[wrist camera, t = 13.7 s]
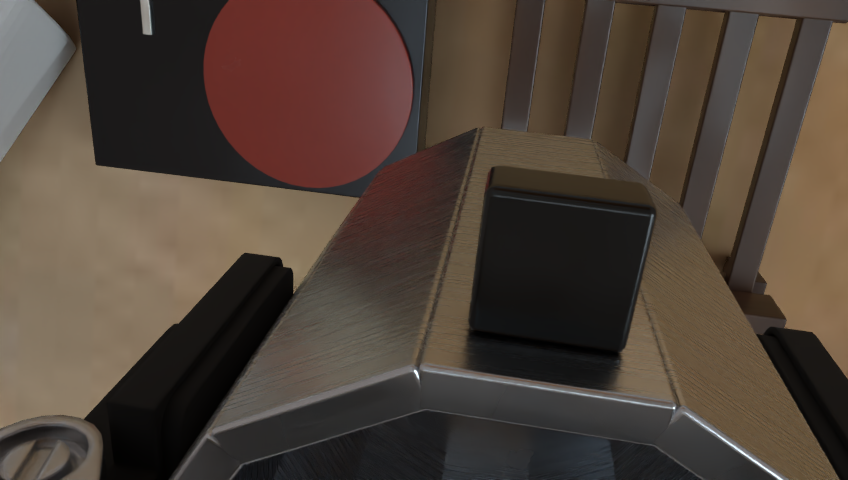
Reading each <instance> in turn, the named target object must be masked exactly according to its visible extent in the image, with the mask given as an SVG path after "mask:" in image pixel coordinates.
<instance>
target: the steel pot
mask: <svg viewBox="0 0 848 480" xmlns="http://www.w3.org/2000/svg"><path fill="white" fill-rule="evenodd" d="M168 480H840V479H839V477H838V475H837V474H836V472H835V470H834V468H833V467H832V465H831V463H830V462H829V460H828V458H827V456H826V455H825V453H824V451H823V449H822V448H821V446H820V444H819V443H818V441H817V439H816V437H815V436H814V434H813V432H812V430H811V429H810V427H809V425H808V424H807V422H806V420H805V418H804V417H803V415H802V413H801V411H800V410H799V408H798V406H797V405H796V403H795V401H794V399H793V398H792V396H791V394H790V392H789V391H788V389H787V387H786V386H785V384H784V382H783V380H782V379H781V377H780V375H779V373H778V372H777V370H776V368H775V367H774V365H773V363H772V361H771V360H770V358H769V356H768V354H767V353H766V351H765V349H764V348H763V346H762V344H761V342H760V341H759V339H758V337H757V335H756V334H755V332H754V330H753V329H752V327H751V325H750V323H749V322H748V320H747V318H746V316H745V315H744V313H743V311H742V310H741V308H740V306H739V304H738V303H737V301H736V299H735V297H734V296H733V294H732V292H731V291H730V289H729V287H728V285H727V284H726V282H725V280H724V278H723V277H722V275H721V273H720V272H719V270H718V268H717V266H716V265H715V263H714V261H713V259H712V258H711V256H710V254H709V253H708V251H707V249H706V247H705V246H704V244H703V242H702V240H701V239H700V237H699V235H698V234H697V232H696V230H695V228H694V227H693V225H692V223H691V221H690V220H689V218H688V216H687V215H686V213H685V211H684V209H683V208H682V207H681V206H680V204H679V203H678V202H676V201H675V200H674V199H672V198H671V197H670V196H668V195H667V194H666V193H664V192H663V191H662V190H660V189H659V188H658V187H656V186H655V185H654V184H652V183H651V182H650V181H648V180H647V179H646V178H645V177H643V176H642V175H641V174H639V173H638V172H637V171H635V170H634V169H633V168H631V167H630V166H629V165H627V164H626V163H625V162H623V161H622V160H621V159H619V158H618V157H617V156H615V155H614V154H613V153H611V152H610V151H609V150H607V149H606V148H605V147H603V146H602V145H601V144H599V143H598V142H593V140H591V139H584V138H575V137H567V136H558V135H550V134H542V133H533V132H525V131H516V130H508V129H499V128H491V127H482V128H481V129H480V128H475V129H473V130H470V131H468V132H466V133H463V134H461V135H459V136H456V137H454V138H451V139H449V140H447V141H444V142H442V143H439V144H437V145H435V146H432V147H430V148H428V149H425V150H423V151H420V152H418V153H416V154H413V155H411V156H409V157H406V158H404V159H401V160H399V161H397V162H394V163H392V164H390V165H387V166H385V167H384V168H383V169H382V170H380V171H379V172H378V173H377V175H376V176H375V178H374V179H373V180H372V182H371V183H370V185H369V186H368V187H367V189H366V190H365V192H364V193H363V194H362V196H361V197H360V199H359V200H358V202H357V203H356V204H355V206H354V207H353V209H352V210H351V211H350V213H349V214H348V216H347V217H346V218H345V220H344V221H343V223H342V224H341V225H340V227H339V228H338V230H337V231H336V233H335V234H334V235H333V237H332V238H331V240H330V241H329V242H328V244H327V245H326V247H325V248H324V250H323V251H322V253H321V254H320V256H319V257H318V259H317V260H316V262H315V263H314V265H313V266H312V268H311V269H310V271H309V272H308V273H307V275H306V276H305V278H304V279H303V281H302V282H301V284H300V285H299V287H298V288H297V290H296V291H295V293H294V294H293V296H292V297H291V299H290V300H289V302H288V303H287V305H286V306H285V308H284V309H283V311H282V312H281V313H280V315H279V316H278V318H277V319H276V321H275V322H274V324H273V325H272V327H271V328H270V330H269V331H268V333H267V334H266V336H265V337H264V339H263V340H262V342H261V343H260V345H259V346H258V348H257V349H256V351H255V352H254V353H253V355H252V356H251V358H250V359H249V361H248V362H247V364H246V365H245V367H244V368H243V370H242V371H241V373H240V374H239V376H238V377H237V379H236V380H235V382H234V383H233V385H232V386H231V388H230V389H229V391H228V392H227V394H226V395H225V396H224V398H223V399H222V401H221V402H220V404H219V405H218V407H217V408H216V410H215V411H214V413H213V414H212V416H211V417H210V419H209V420H208V422H207V423H206V425H205V426H204V428H203V429H202V431H201V432H200V434H199V435H198V436H197V438H196V439H195V441H194V442H193V444H192V445H191V447H190V448H189V450H188V451H187V453H186V454H185V456H184V457H183V459H182V460H181V462H180V463H179V465H178V466H177V468H176V469H175V471H174V472H173V474H172V475H171V476H170V478H169V479H168Z"/></svg>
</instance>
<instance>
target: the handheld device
mask: <svg viewBox="0 0 848 480" xmlns="http://www.w3.org/2000/svg"><path fill="white" fill-rule="evenodd" d="M75 50H76V46H75V45H74V43H73V41H72V40H71V38H70V37H69V35H68V34H67V33H66V32H65V31H64V30H63V29H62V28H61V27H60V26H59V24H58V23H57V22H56V21H55V20H54V19H53V18H52V17H51V16H50V15H49V14H48V13H47V12H46V11H45V10H44V9H43V8H42V7H41V6H40V5H39V4H38V3H37V2H36V1H34V0H0V162H1V161H2V159H3V158H4V156H5V155H6V153H7V152H8V150H9V149H10V147H11V146H12V144H13V143H14V141H15V140H16V138H17V137H18V135H19V134H20V133H21V131H22V130H23V128H24V127H25V125H26V124H27V122H28V121H29V119H30V118H31V116H32V115H33V113H34V112H35V110H36V109H37V107H38V106H39V104H40V103H41V101H42V100H43V98H44V97H45V95H46V94H47V92H48V91H49V89H50V88H51V87H52V85H53V84H54V82H55V81H56V79H57V78H58V76H59V75H60V73H61V72H62V70H63V69H64V67H65V66H66V64H67V63H68V61H69V60H70V58H71V57H72V55H73V54H74V52H75Z"/></svg>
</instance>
